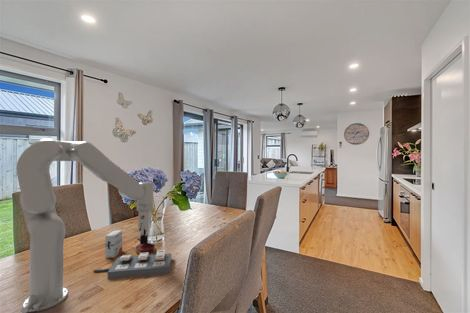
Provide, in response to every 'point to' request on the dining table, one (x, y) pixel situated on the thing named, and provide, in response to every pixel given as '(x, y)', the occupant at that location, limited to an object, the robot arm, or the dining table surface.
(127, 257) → the rocker
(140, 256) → the rocker
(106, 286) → the dining table surface
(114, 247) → the ink box
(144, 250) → the dark red apple
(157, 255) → the rocker
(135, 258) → the power strip
